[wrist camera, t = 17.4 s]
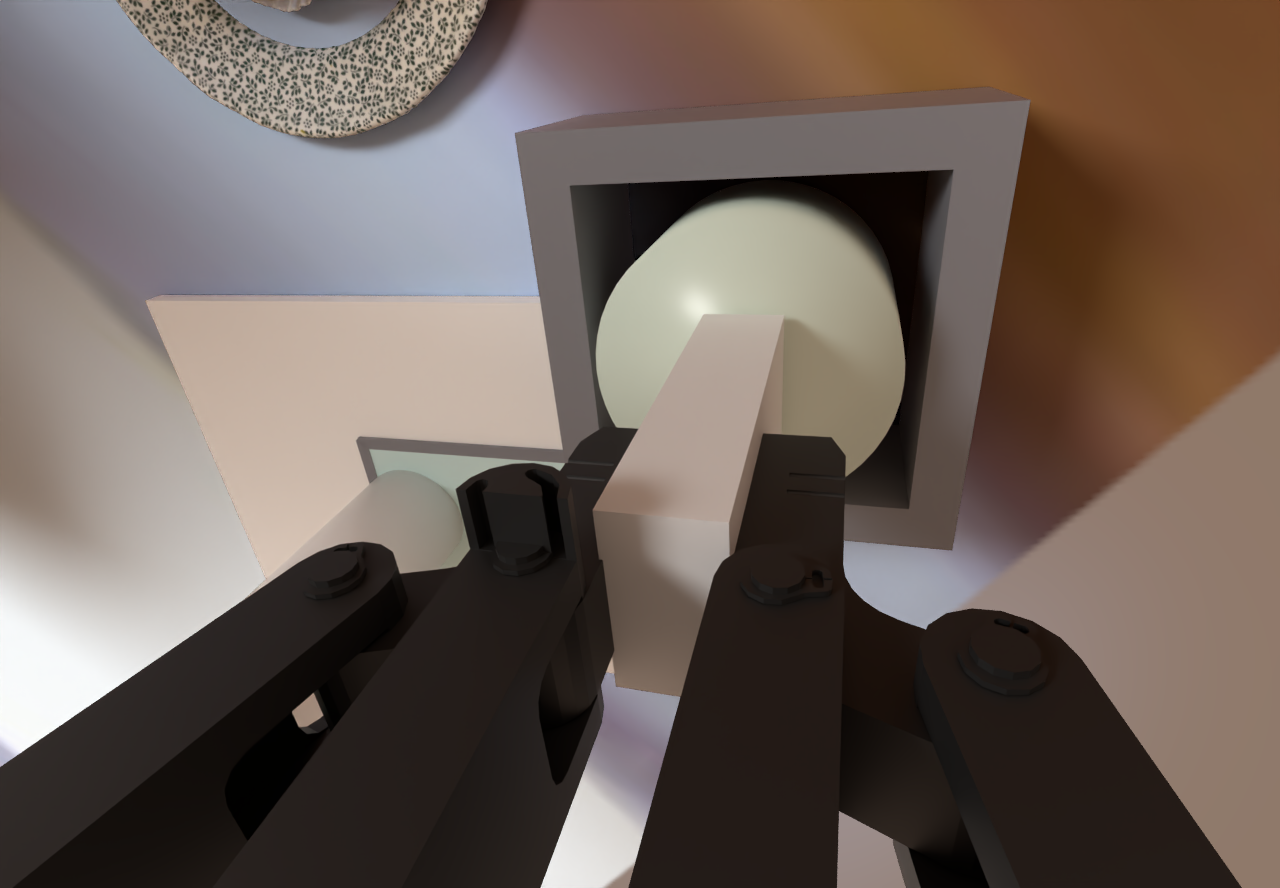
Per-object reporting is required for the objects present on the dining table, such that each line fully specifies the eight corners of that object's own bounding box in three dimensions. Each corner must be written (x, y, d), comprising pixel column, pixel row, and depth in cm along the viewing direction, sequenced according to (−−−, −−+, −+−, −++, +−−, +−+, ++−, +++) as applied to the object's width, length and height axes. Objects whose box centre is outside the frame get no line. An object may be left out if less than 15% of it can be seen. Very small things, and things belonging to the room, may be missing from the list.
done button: (653, 413, 19) (610, 492, 16) (635, 185, 16) (579, 222, 13) (882, 425, 18) (889, 515, 14) (908, 173, 15) (923, 212, 11)
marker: (376, 548, 25) (85, 858, 16) (356, 459, 23) (11, 751, 14) (471, 566, 24) (226, 906, 15) (459, 476, 23) (169, 799, 13)
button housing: (617, 440, 21) (572, 515, 18) (582, 114, 17) (514, 133, 13) (934, 459, 19) (952, 550, 15) (989, 86, 14) (1030, 100, 11)
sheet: (294, 612, 30) (282, 624, 29) (160, 294, 23) (141, 301, 22) (708, 674, 25) (704, 690, 24) (691, 296, 18) (686, 305, 18)
